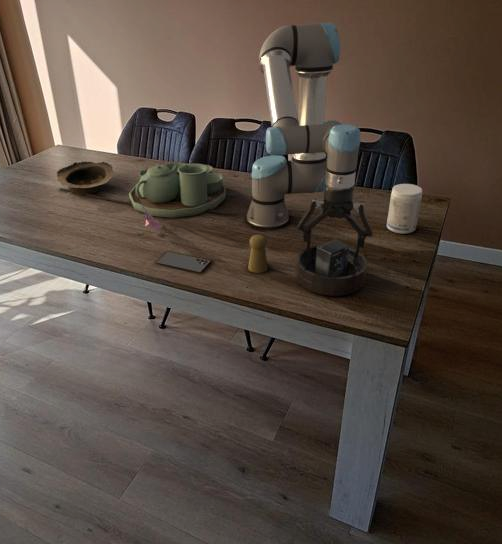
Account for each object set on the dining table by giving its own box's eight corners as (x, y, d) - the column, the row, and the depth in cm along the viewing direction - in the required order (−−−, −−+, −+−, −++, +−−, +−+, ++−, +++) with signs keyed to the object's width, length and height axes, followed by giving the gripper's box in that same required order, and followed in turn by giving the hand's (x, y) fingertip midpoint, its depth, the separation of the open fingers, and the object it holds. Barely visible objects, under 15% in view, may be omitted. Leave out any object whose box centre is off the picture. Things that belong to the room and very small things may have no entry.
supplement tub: (400, 220, 179) (407, 181, 171) (421, 230, 172) (430, 190, 164) (379, 226, 176) (385, 187, 168) (400, 237, 168) (408, 196, 161)
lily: (151, 246, 176) (162, 223, 172) (123, 230, 178) (134, 206, 174) (163, 240, 187) (174, 218, 183) (137, 225, 189) (147, 203, 185)
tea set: (240, 186, 215) (240, 148, 206) (199, 225, 185) (196, 183, 177) (160, 175, 231) (157, 140, 223) (110, 210, 202) (104, 171, 193)
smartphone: (168, 251, 169) (210, 259, 162) (168, 253, 169) (210, 261, 162) (156, 262, 163) (200, 271, 156) (156, 263, 164) (200, 272, 157)
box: (327, 285, 145) (331, 254, 140) (313, 277, 149) (316, 246, 144) (346, 276, 149) (350, 245, 143) (332, 268, 153) (335, 238, 147)
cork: (246, 264, 160) (246, 233, 154) (265, 262, 160) (265, 231, 154) (250, 273, 155) (250, 242, 149) (269, 271, 155) (270, 240, 149)
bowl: (291, 293, 144) (293, 274, 141) (300, 259, 160) (301, 241, 157) (363, 301, 139) (366, 282, 135) (364, 266, 154) (367, 247, 151)
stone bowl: (87, 174, 238) (85, 155, 233) (127, 187, 226) (126, 168, 221) (47, 192, 221) (44, 172, 216) (88, 207, 209) (85, 186, 204)
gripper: (290, 187, 134) (286, 255, 146) (389, 194, 127) (377, 265, 139) (294, 177, 140) (290, 243, 152) (389, 182, 133) (377, 251, 145)
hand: (331, 253), depth 145 cm, fingers open, 13 cm apart
